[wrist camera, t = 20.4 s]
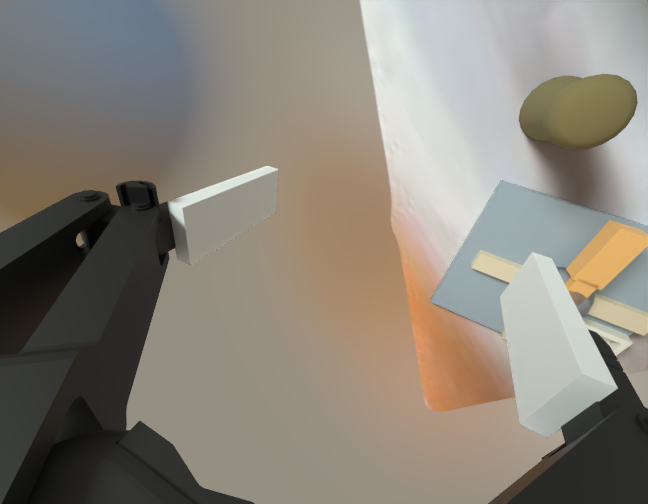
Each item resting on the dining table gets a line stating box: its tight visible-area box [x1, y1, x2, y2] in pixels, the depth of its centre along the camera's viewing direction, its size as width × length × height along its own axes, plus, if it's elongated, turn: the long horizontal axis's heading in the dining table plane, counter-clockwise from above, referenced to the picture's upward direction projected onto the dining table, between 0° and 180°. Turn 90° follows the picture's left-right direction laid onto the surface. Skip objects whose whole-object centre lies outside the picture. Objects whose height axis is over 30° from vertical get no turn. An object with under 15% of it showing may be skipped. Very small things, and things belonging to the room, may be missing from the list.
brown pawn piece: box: [519, 74, 637, 150], centre depth 24 cm, size 6×6×11 cm
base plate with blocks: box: [431, 180, 648, 341], centre depth 35 cm, size 20×22×4 cm
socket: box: [582, 317, 633, 356], centre depth 36 cm, size 7×7×2 cm
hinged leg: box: [565, 220, 648, 317], centre depth 31 cm, size 12×4×2 cm, turn 167°
